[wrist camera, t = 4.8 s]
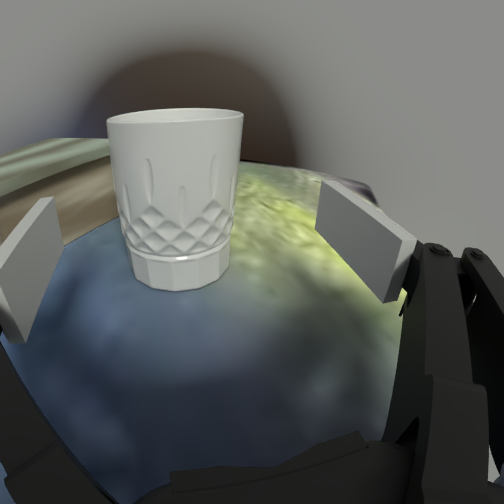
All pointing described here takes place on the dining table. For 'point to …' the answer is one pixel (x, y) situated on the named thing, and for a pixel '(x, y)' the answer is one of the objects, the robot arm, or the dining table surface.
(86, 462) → the dining table surface
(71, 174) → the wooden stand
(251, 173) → the dining table surface
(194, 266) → the white cup
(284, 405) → the dining table surface
